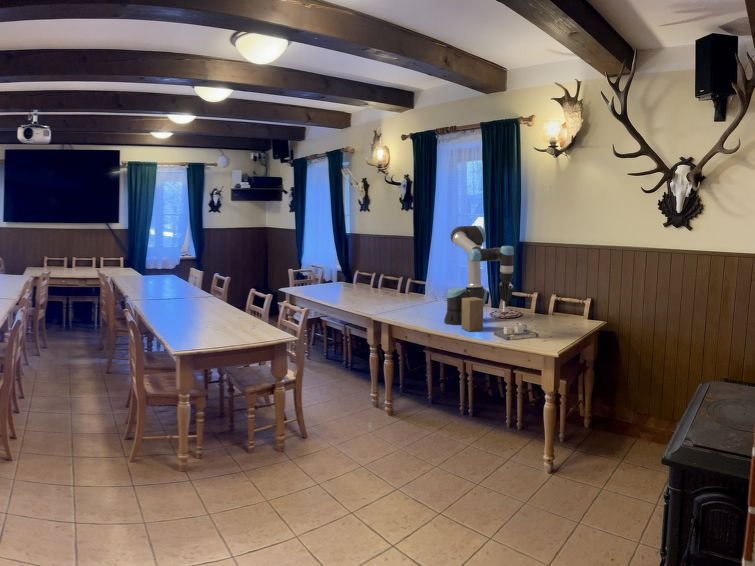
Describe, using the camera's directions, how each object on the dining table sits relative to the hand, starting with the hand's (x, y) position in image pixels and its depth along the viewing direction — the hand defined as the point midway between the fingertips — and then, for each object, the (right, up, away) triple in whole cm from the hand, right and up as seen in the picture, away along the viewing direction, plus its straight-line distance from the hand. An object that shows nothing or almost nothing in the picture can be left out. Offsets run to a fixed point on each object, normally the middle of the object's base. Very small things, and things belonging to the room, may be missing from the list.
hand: (505, 311), depth 305 cm
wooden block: (-16, -13, +21) cm, 29 cm away
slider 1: (+1, -13, -1) cm, 13 cm away
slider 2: (+8, -13, 0) cm, 15 cm away
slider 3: (+13, -11, +8) cm, 19 cm away
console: (+7, -15, +3) cm, 17 cm away
